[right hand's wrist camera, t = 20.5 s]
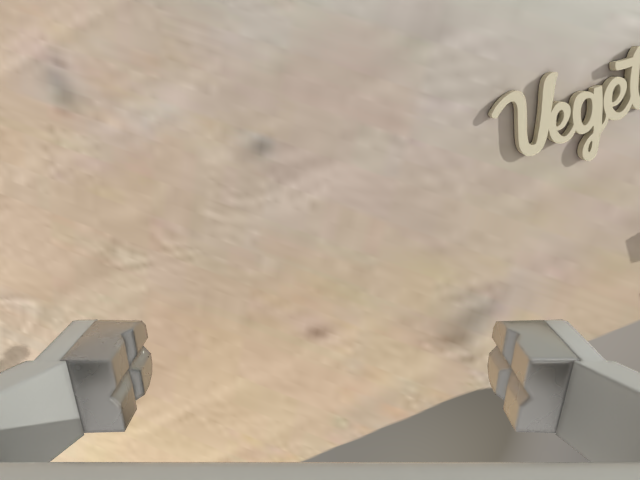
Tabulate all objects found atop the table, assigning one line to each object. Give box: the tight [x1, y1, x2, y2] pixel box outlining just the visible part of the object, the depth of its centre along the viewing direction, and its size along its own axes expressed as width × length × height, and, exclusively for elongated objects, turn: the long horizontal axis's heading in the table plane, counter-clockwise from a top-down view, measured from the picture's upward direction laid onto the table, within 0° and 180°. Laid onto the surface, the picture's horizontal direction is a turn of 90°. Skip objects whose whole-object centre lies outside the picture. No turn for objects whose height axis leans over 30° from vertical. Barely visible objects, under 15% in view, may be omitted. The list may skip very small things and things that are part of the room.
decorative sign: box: [488, 46, 640, 161], centre depth 43 cm, size 26×1×10 cm
